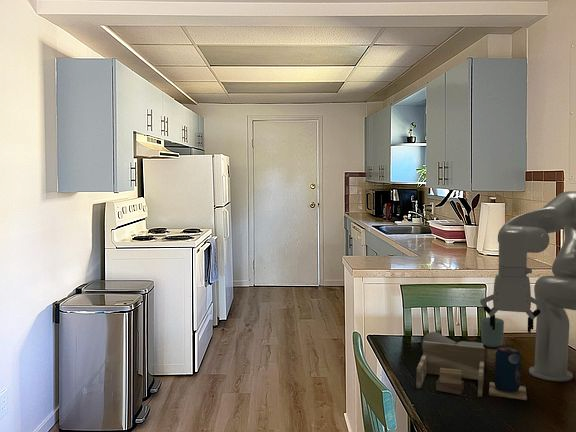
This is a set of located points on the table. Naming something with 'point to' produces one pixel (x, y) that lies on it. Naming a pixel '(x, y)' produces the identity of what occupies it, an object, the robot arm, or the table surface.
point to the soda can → (507, 369)
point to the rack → (452, 361)
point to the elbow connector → (446, 340)
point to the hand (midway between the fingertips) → (511, 330)
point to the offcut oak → (450, 376)
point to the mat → (517, 395)
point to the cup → (492, 332)
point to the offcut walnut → (450, 387)
